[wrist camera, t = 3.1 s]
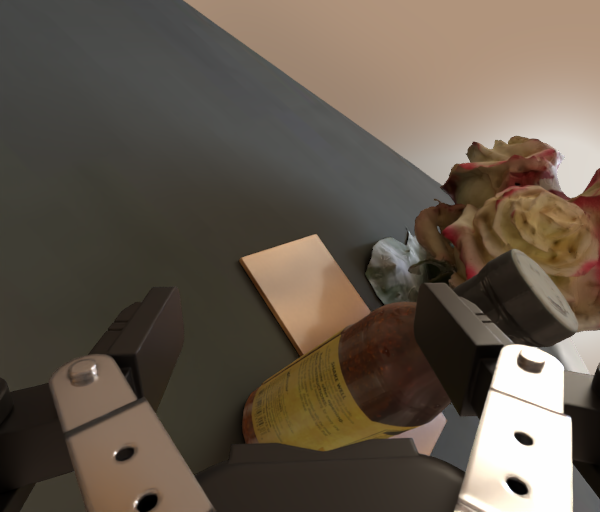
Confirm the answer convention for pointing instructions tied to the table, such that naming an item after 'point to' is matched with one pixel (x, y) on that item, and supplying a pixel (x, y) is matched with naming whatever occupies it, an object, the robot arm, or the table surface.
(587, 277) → the rose bouquet
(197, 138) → the table surface
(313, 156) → the table surface
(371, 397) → the sauce bottle
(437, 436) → the flat copper plate
